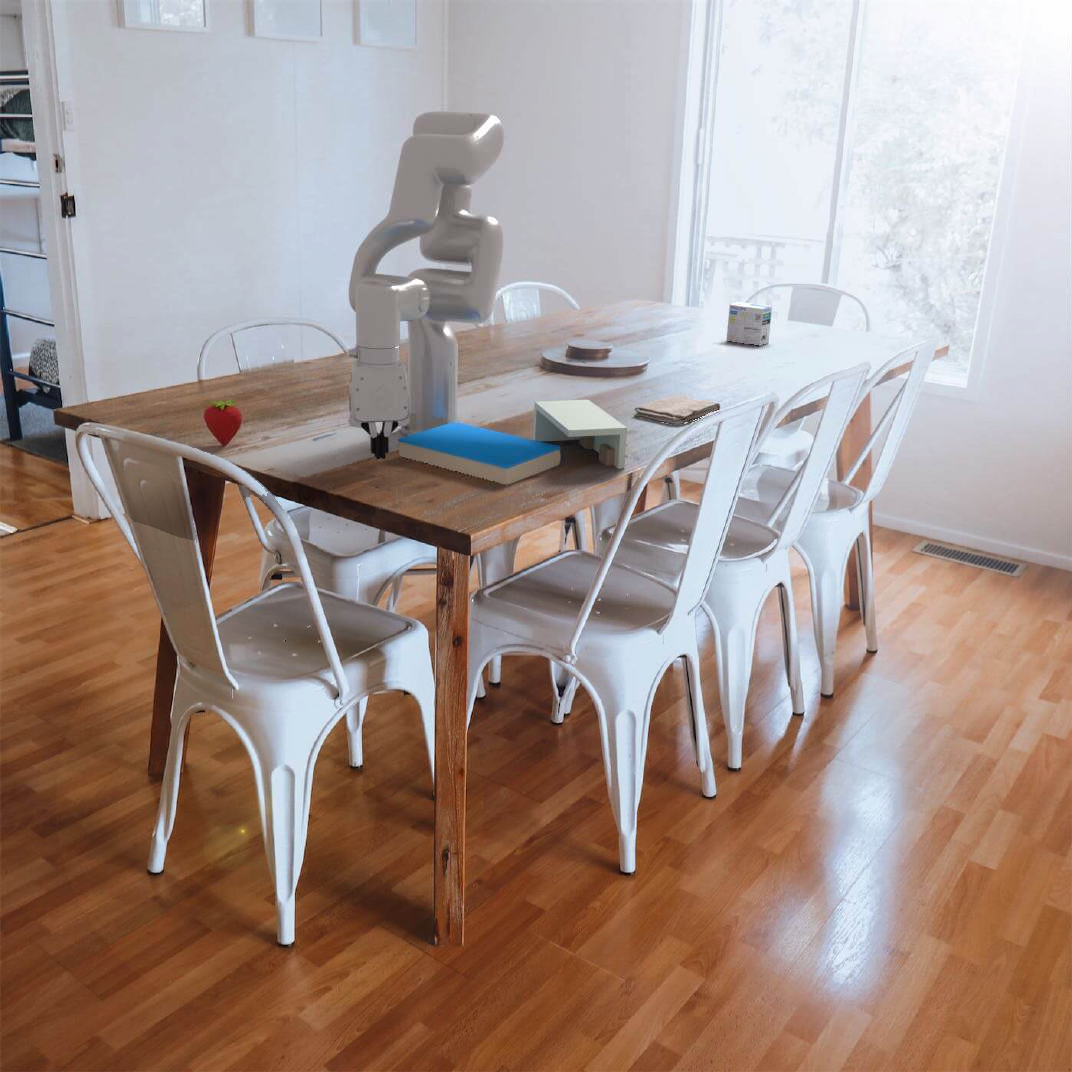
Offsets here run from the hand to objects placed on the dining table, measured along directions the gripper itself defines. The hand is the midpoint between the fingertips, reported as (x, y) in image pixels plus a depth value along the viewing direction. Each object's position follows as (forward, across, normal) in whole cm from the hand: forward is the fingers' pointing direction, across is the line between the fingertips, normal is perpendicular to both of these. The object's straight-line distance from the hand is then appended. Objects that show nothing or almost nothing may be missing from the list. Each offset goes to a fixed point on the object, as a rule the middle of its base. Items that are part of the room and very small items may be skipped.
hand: (379, 456), depth 201 cm
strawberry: (+2, -26, +17) cm, 31 cm away
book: (+2, +18, 0) cm, 18 cm away
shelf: (+2, +38, 0) cm, 38 cm away
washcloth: (+2, +69, +25) cm, 73 cm away
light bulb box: (+2, +122, +98) cm, 157 cm away
